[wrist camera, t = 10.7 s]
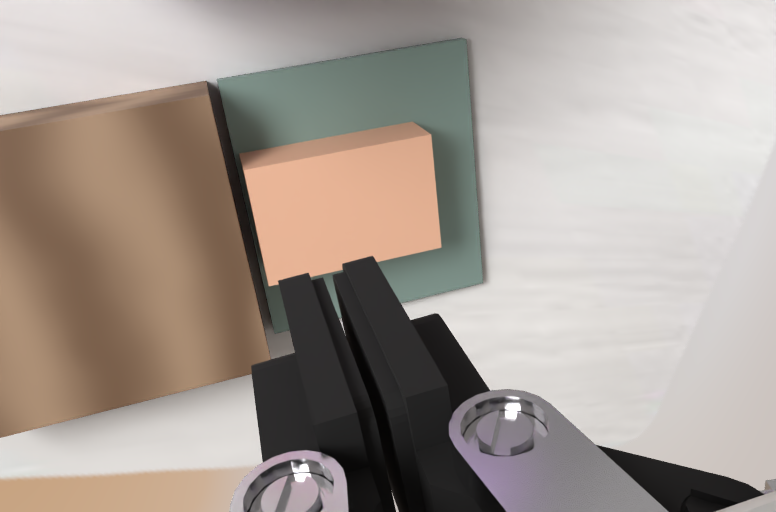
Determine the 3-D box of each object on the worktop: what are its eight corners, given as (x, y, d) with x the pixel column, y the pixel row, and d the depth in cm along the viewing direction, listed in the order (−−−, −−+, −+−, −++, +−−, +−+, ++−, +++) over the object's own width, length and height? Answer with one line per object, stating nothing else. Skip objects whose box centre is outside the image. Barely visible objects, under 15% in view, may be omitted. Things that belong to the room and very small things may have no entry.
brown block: (206, 80, 32) (208, 95, 28) (264, 330, 38) (272, 368, 34) (-144, 139, 29) (-190, 163, 25) (-21, 399, 35) (-44, 448, 31)
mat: (461, 37, 34) (466, 38, 34) (479, 278, 40) (482, 282, 40) (216, 79, 32) (217, 81, 31) (273, 328, 38) (274, 333, 37)
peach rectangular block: (412, 121, 35) (431, 134, 32) (423, 227, 37) (441, 247, 35) (239, 153, 33) (243, 170, 30) (262, 262, 36) (268, 286, 33)
